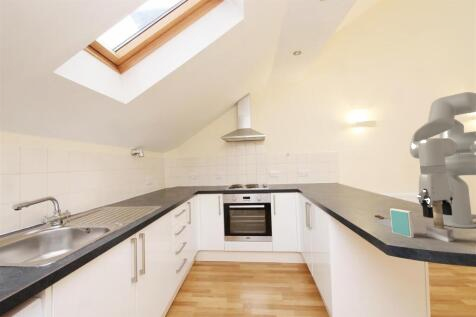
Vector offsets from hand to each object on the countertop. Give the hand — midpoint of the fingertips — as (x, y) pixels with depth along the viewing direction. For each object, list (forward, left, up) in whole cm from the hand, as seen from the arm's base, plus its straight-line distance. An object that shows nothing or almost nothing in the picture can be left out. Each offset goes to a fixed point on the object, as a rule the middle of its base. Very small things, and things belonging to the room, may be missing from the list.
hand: (437, 216), depth 84 cm
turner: (0, 0, -8) cm, 8 cm away
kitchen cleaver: (-5, -28, -9) cm, 30 cm away
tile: (+7, -9, -8) cm, 14 cm away
